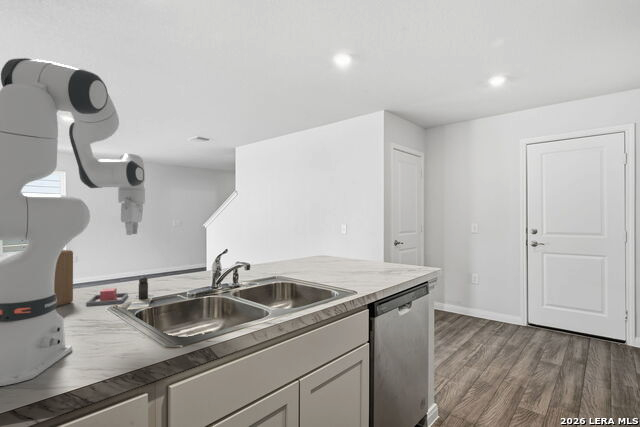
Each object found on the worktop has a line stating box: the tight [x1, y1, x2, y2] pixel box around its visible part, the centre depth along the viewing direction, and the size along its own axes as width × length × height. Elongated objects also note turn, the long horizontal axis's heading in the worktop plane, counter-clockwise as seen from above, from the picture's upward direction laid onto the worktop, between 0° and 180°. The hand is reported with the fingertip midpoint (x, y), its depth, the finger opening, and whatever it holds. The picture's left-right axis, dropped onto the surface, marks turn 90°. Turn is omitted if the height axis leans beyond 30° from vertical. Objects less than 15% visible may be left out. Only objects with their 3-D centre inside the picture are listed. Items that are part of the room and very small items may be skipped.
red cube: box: [99, 287, 118, 301], centre depth 125 cm, size 4×4×4 cm
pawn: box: [138, 276, 149, 300], centre depth 128 cm, size 3×3×8 cm
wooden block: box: [54, 249, 74, 308], centre depth 121 cm, size 10×10×20 cm
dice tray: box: [85, 292, 129, 307], centre depth 125 cm, size 11×11×2 cm
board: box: [126, 293, 155, 310], centre depth 125 cm, size 20×7×1 cm, turn 20°
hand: (132, 234), depth 125 cm, fingers open, 8 cm apart
